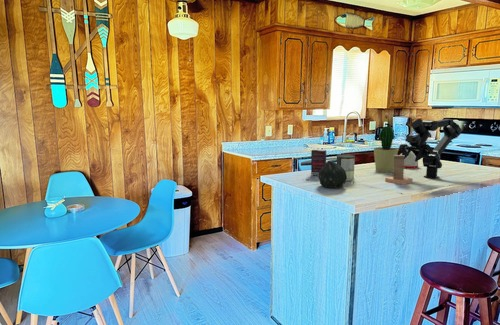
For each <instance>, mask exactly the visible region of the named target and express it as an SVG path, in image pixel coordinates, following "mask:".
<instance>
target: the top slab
mask: <svg viewBox="0 0 500 325" xmlns="http://www.w3.org/2000/svg"><path fill="white" fill-rule="evenodd" d="M384 182H387V183H393V184H397V185H405V184H410V183H413V178H409V177H405V176H403V179H394V178H393V176H388V177H385V178H384Z"/></svg>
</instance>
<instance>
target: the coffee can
mask: <svg viewBox="0 0 500 325" xmlns="http://www.w3.org/2000/svg"><path fill="white" fill-rule="evenodd" d="M355 159H356V156H355V155H352V154H336V164H338V165H340V166H341V167H342V168H343V169H344V170H345V172H346V176H347V179H346V181H345V182H349V180H353V179H355Z"/></svg>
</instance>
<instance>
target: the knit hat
mask: <svg viewBox="0 0 500 325" xmlns="http://www.w3.org/2000/svg"><path fill="white" fill-rule="evenodd" d="M400 155H402V153H400ZM416 156H417V155H415V153H414V152H413V150H411V152H410V153H409V155H408V156H407V157H406V158H405V159H404V169H407V168H409V169H411V170H412V169H413V170H415V169H418V168H419V160H418V161H417V162H415V158H416Z"/></svg>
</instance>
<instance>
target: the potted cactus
mask: <svg viewBox="0 0 500 325" xmlns="http://www.w3.org/2000/svg"><path fill="white" fill-rule="evenodd" d="M393 130H394V129H392V127H391V126H386V125H385V126H383V127H382V128H381V129H380V131H379V136H378V138H379V139H378V140H379V142H380V144H381V147H374V148H373V155H374V165H375V171H376V172H382V173H393V170H394V155H399V150H400V148H396V147H392V145H393V140H395V135H394V131H393Z"/></svg>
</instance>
